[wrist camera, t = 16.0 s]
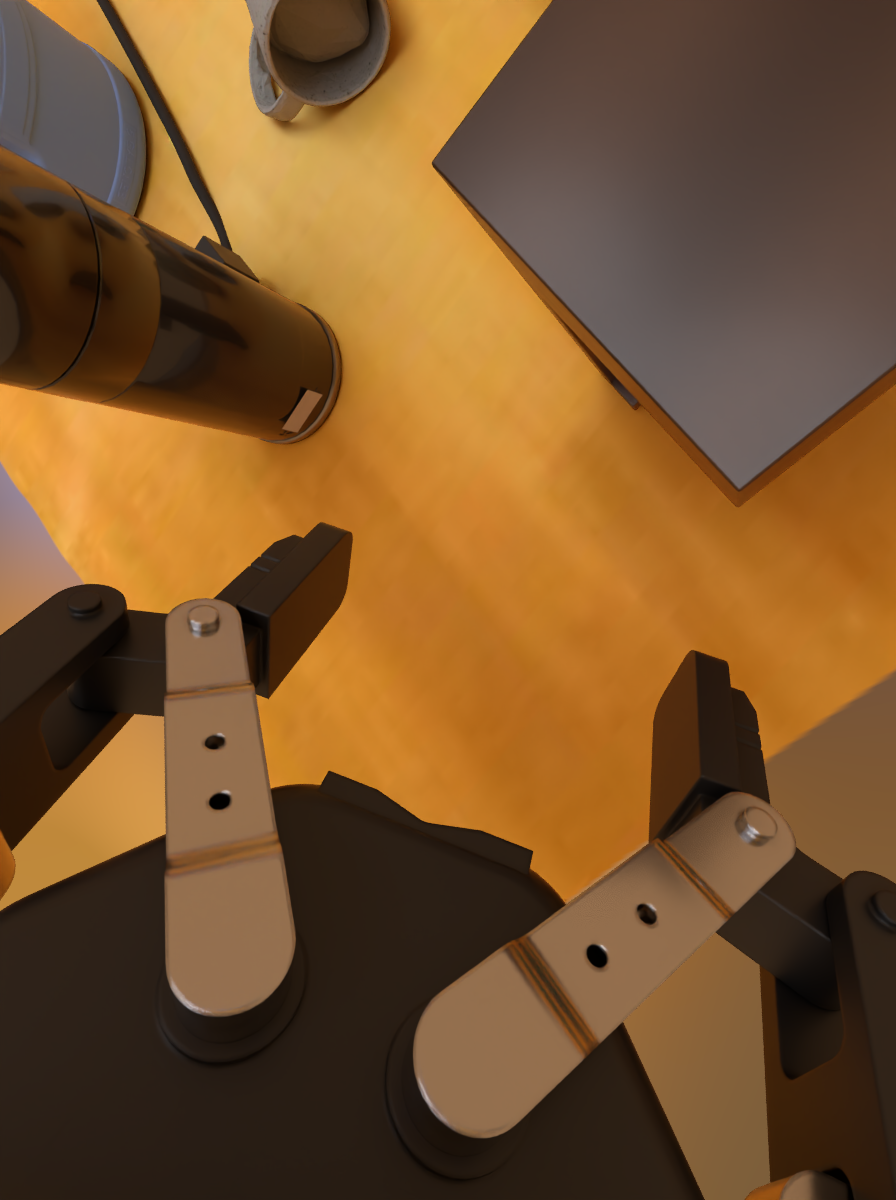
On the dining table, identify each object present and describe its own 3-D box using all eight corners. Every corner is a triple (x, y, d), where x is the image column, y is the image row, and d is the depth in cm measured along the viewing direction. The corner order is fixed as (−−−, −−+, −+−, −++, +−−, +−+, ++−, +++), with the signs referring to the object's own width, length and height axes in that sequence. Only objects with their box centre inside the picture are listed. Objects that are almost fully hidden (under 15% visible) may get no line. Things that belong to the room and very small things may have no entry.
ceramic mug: (365, -70, 37) (278, -205, 31) (415, 41, 37) (339, -72, 30) (249, 64, 42) (152, -28, 35) (292, 165, 41) (201, 91, 34)
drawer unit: (599, 372, 34) (429, 162, 15) (908, 68, 27) (1303, -1008, 8) (736, 520, 32) (738, 493, 13) (1109, 229, 25) (2284, -742, 6)
